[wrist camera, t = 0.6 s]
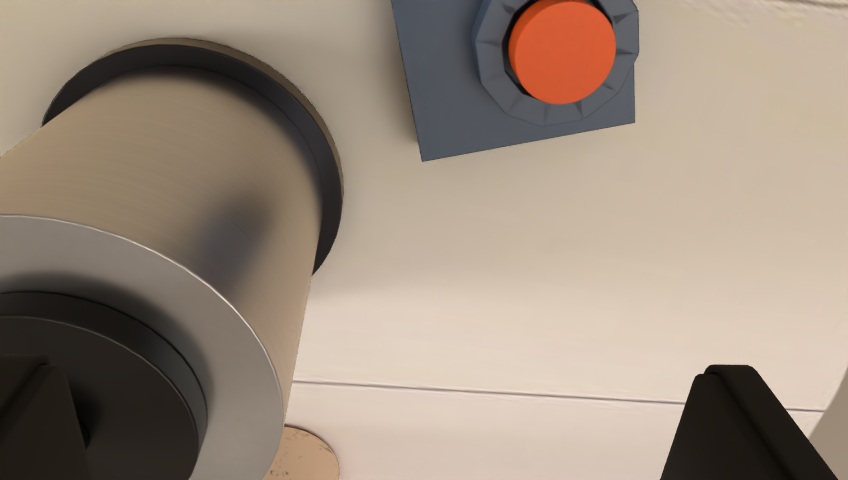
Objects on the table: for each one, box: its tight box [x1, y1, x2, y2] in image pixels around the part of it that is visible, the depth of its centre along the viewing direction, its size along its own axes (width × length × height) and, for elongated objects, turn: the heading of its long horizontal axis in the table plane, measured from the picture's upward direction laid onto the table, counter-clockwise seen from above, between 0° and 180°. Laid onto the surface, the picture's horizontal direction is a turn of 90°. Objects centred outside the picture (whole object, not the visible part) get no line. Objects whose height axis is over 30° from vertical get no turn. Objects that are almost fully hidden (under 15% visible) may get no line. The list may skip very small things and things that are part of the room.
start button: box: [508, 0, 616, 104], centre depth 29 cm, size 4×4×2 cm
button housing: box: [391, 0, 639, 162], centre depth 32 cm, size 9×11×4 cm
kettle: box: [0, 38, 344, 480], centre depth 28 cm, size 17×20×20 cm
